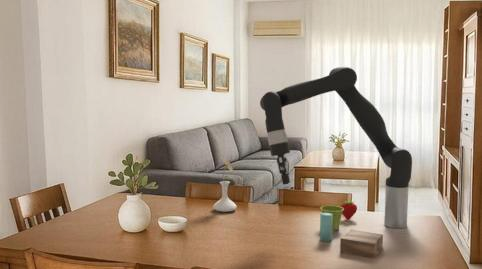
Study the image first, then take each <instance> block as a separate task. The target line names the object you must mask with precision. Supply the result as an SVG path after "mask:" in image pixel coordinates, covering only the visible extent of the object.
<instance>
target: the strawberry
mask: <svg viewBox="0 0 482 269" xmlns="http://www.w3.org/2000/svg"><path fill="white" fill-rule="evenodd" d="M339 207H342V208H343V209H344V210H343V212H342V216H343V217H344V218H345V219H346V220H347V221H348V220H350V219H351V218H352V217H353V216H354V215H355V214H356V213H357V210H358V206H357V204H355V202H354V201H349V200H346V201H342V203H341V205H340V206H339Z"/></svg>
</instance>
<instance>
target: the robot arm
mask: <svg viewBox="0 0 482 269" xmlns="http://www.w3.org/2000/svg"><path fill="white" fill-rule="evenodd" d="M357 80H358V75H357V72H356V71H355V70H354V69H353V68H351V67H349V66H340V67H339V66H338V67H335V68H332V69H331V70H330V72H329V74H328V75H326V76H323V77H320V78H316V79H312V80H307V81H302V82H299V83H296V84H292V85H289V86H286V87H284V88H282V89H281V90H279V91H268V92H266V93H264V94H263V96H262V97H261V99H259V100H260V102H259V105H260V108H261V109H262V110H263V111H264V112H265V113H264V115H265V122H264V123H265V129H266V134H267V141H268V147H269V152H270V156H271V157H275V156H276V165H277V169H278V172H279V174H280V177H281V183H282V184H283V185H288V184H289V183H290V182H291V180H290V176H289V164H288V158H287V157H286V156H285V155H287V154H290V152H291V150H290V144H289V141H288V136H287V132H286V129H285V124H284V120H283V111H282V110H283V109H282V108H284V107H286V106H289V105H292V104H296V103H300V102H301V101H302V102H303V101H305V100H308V99H311V98H314V97H317V96H320V95H322V94H323V95H324V94H326V93H330V92H335V93H336V94H337V95H338V96H339V97H340V98H341V99H342V101H343V102H344V103H345V105H346V106H347V108H348V110H349V111H350V113H351V114H352V116H353V117H354V119H355V120H356V122H357V124H359V126H360V127H361V129H362V130H363V132H364V133H365V134H366V136H367V138H368V139H369V140H370V141H371V143H372V144H373V146H374V147H375V148H376V150H377V152H378V154H379V156H380V157H381V159H382V161H383V163H384V164H385V165H386V166H387V168H390V175H389V176H388V177H386V178H385V188H384V190H385V193H384V196H385V197H384V216H383V217H384V218H383V220H384V221H383V223H384V224H383V225H384V226H385V227H388V228H391V229H392V228H393V229H406V228H407V227H408V212H409V211H408V209H409V208H408V207H409V183H410V182H411V178H412V168H413V157H412V154H411V152H410V151H409V150H407V149H404V148H401V147H398V146H397V145H396V144H395V142H394V141H393V140H392V139H391V138H390V136H389V134H388V131H387V126H386V123H385V120H384V118H383V116H382V115H381V113H380V112H379V111H378V109H377V108H376V107H375V105H373V103H371V101H370V100H368V99H367V98H366V97H365V96H364V95H363V94H362V93H360V91H359V90H358V89H357V87H356V83H357Z"/></svg>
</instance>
